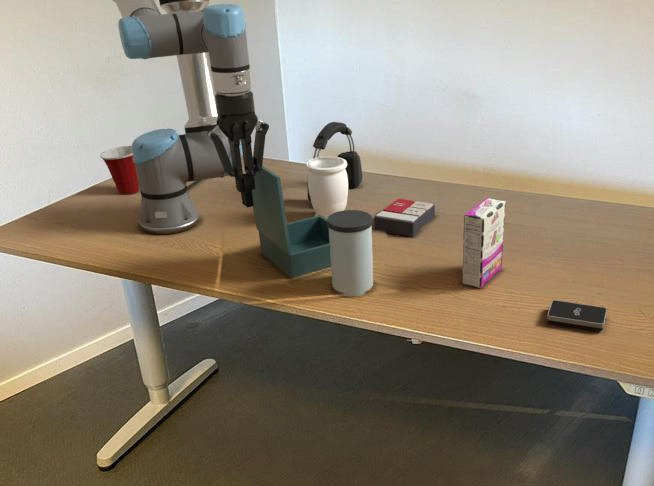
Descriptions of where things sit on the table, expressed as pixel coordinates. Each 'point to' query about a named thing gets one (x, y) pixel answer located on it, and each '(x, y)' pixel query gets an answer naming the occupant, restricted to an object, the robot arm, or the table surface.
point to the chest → (301, 247)
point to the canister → (351, 252)
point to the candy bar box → (483, 242)
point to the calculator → (404, 217)
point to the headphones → (351, 157)
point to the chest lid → (270, 208)
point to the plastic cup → (122, 169)
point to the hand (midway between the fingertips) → (248, 204)
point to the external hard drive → (577, 315)
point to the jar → (328, 185)
